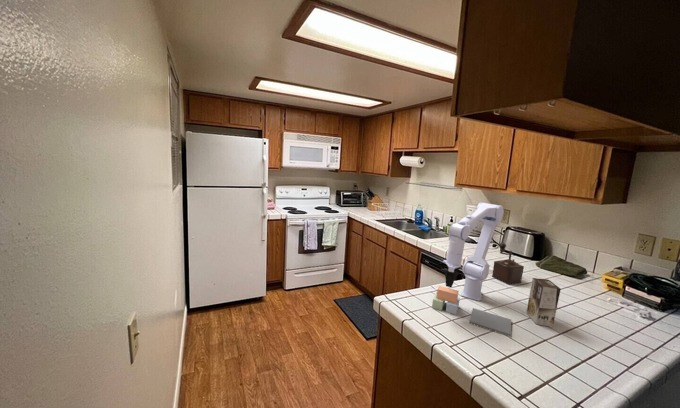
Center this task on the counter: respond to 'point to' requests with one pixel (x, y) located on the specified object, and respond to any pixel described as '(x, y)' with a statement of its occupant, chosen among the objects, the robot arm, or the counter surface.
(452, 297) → the terracotta brick
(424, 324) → the counter surface
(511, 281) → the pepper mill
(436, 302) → the sage brick
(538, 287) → the coffee box
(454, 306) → the blue brick
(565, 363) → the counter surface
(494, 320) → the slate mat
